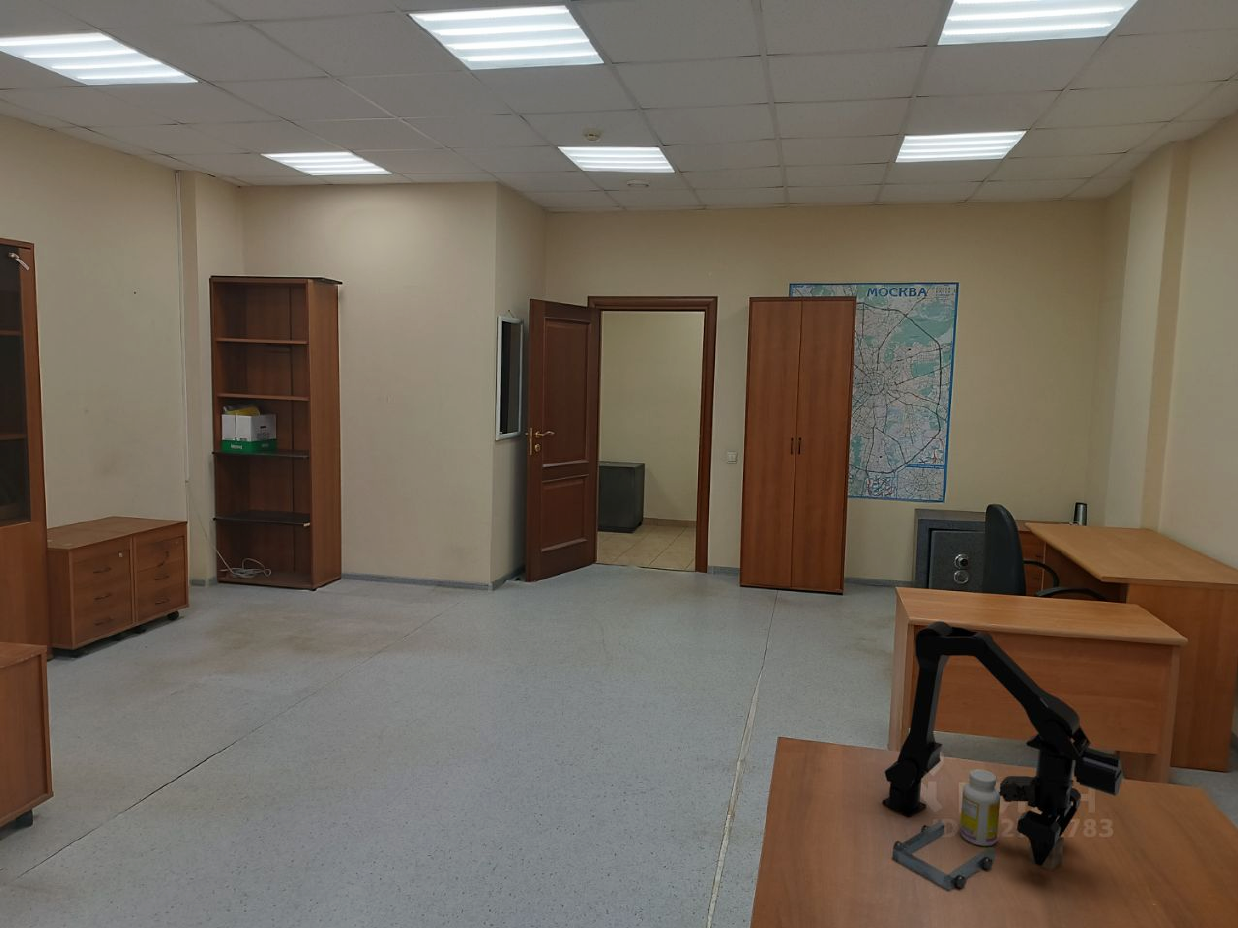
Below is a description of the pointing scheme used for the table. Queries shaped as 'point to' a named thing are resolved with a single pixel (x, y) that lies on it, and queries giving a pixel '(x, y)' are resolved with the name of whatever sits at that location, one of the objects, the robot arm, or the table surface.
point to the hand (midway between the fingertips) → (1045, 853)
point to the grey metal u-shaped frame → (947, 881)
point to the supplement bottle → (980, 809)
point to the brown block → (1052, 855)
